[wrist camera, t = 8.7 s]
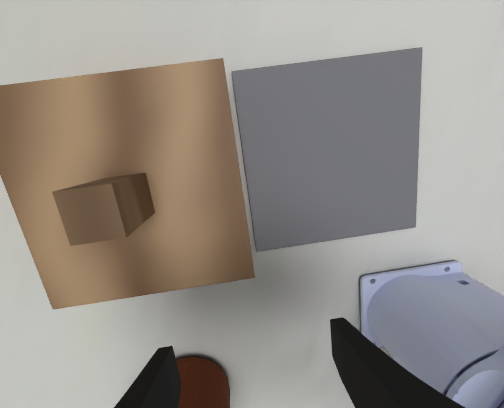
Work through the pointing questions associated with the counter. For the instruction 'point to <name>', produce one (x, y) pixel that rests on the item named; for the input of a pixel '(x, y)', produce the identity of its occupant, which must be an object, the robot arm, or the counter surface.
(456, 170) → the counter surface
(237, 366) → the counter surface
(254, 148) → the mat
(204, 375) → the bottle
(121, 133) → the lid
